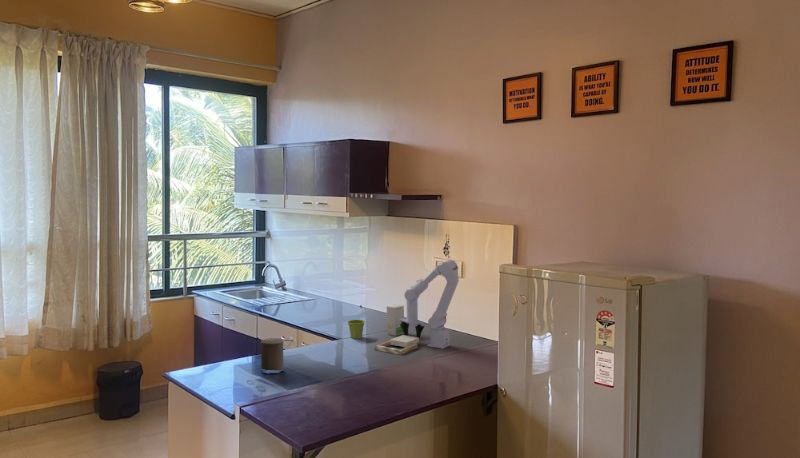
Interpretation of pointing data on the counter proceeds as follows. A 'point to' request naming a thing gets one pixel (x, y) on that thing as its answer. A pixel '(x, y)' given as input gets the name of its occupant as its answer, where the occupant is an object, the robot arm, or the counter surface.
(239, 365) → the counter surface
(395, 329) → the skincare box
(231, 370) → the counter surface
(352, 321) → the plant pot
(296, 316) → the counter surface
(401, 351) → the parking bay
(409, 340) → the cream tile slab
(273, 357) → the pillar candle
